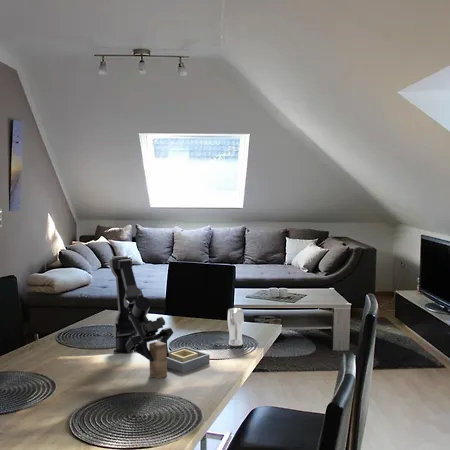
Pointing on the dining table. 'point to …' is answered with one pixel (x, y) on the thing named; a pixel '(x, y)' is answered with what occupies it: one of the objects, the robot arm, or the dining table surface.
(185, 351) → the housing
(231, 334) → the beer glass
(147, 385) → the dining table surface
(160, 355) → the post
